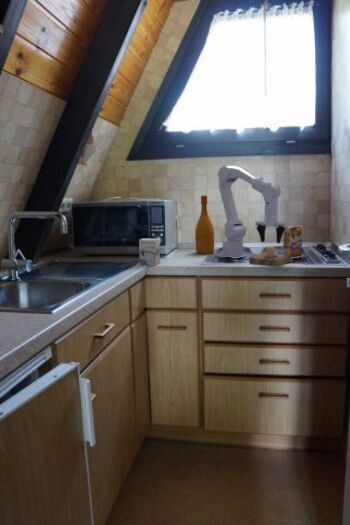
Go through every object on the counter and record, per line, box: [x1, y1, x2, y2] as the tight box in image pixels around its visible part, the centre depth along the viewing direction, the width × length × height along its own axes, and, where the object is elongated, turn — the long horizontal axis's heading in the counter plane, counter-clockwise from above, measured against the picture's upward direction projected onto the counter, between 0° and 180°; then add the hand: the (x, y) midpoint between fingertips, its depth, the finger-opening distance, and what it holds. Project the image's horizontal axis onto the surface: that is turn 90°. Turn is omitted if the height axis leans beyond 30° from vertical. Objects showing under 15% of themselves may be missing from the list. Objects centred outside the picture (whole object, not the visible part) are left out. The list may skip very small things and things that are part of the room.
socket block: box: [248, 252, 292, 267], centre depth 194 cm, size 14×14×2 cm
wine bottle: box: [194, 194, 215, 255], centre depth 221 cm, size 10×10×30 cm
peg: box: [265, 245, 276, 258], centre depth 194 cm, size 4×4×7 cm
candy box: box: [282, 225, 304, 258], centre depth 200 cm, size 9×4×15 cm, turn 123°
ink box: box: [138, 237, 161, 266], centre depth 198 cm, size 9×5×12 cm, turn 71°
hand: (270, 242), depth 193 cm, fingers open, 7 cm apart
